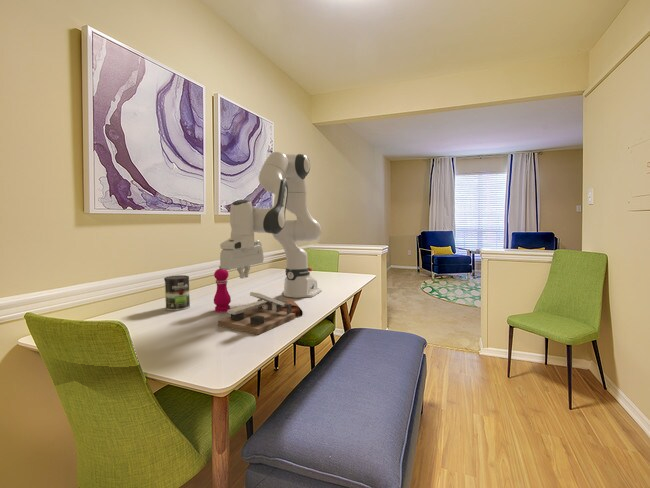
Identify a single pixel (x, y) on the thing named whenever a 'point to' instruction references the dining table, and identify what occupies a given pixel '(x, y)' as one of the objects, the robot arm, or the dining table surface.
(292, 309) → the sunglasses case
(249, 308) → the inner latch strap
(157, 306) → the dining table surface
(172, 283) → the coffee can
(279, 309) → the base
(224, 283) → the pepper mill
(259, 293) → the strap
